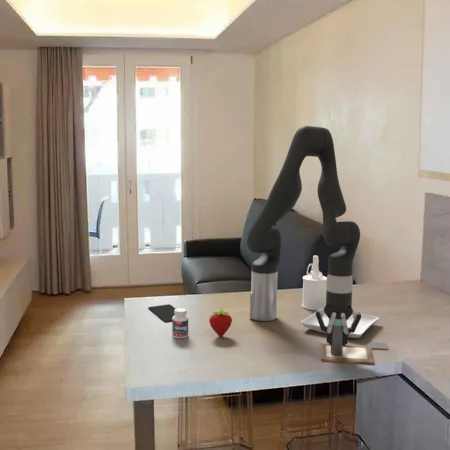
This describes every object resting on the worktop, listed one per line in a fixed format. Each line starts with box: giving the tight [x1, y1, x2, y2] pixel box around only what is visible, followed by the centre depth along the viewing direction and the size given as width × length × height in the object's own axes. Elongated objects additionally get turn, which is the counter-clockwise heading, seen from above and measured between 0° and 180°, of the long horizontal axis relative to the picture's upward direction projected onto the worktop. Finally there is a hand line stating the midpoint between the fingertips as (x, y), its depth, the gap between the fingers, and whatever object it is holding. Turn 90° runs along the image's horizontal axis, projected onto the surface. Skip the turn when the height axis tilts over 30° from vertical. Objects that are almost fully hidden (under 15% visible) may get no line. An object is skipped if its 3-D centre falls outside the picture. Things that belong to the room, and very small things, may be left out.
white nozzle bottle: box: [301, 255, 327, 311], centre depth 228 cm, size 10×9×20 cm
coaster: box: [370, 341, 389, 351], centre depth 188 cm, size 5×5×1 cm
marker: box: [330, 319, 344, 355], centre depth 179 cm, size 4×4×11 cm
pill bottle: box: [171, 307, 189, 339], centre depth 195 cm, size 5×5×9 cm
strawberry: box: [208, 306, 233, 337], centre depth 195 cm, size 6×8×10 cm
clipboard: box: [320, 342, 374, 365], centre depth 182 cm, size 15×13×1 cm
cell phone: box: [147, 304, 177, 323], centre depth 219 cm, size 9×18×1 cm, turn 26°
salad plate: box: [300, 308, 380, 339], centre depth 205 cm, size 21×21×3 cm
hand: (337, 344), depth 179 cm, fingers closed on marker, 3 cm apart
